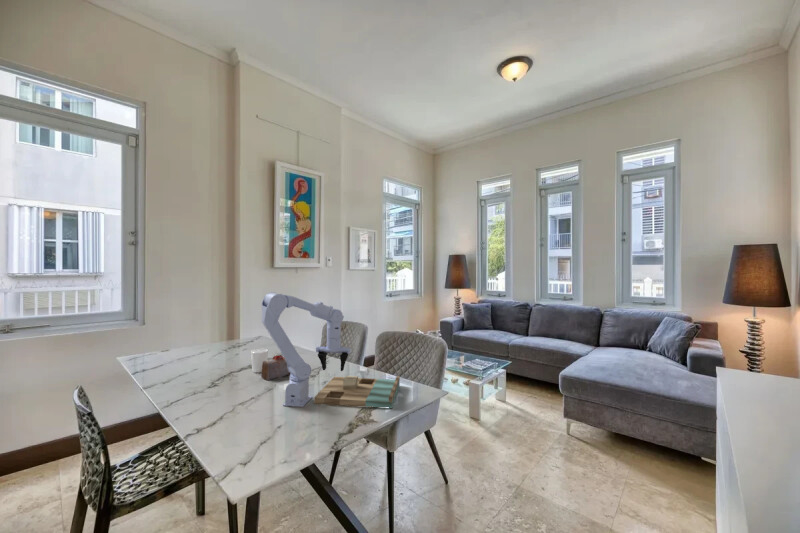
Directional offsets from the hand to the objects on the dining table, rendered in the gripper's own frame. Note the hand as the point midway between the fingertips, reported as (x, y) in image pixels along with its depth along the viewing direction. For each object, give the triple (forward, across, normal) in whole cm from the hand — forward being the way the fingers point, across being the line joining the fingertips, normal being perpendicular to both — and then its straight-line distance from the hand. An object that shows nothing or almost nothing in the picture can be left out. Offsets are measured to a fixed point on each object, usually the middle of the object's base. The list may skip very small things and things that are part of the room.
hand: (333, 369), depth 136 cm
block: (+7, -8, 0) cm, 10 cm away
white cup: (+10, +45, -22) cm, 51 cm away
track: (+9, -12, 0) cm, 15 cm away
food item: (+10, +32, -16) cm, 37 cm away
